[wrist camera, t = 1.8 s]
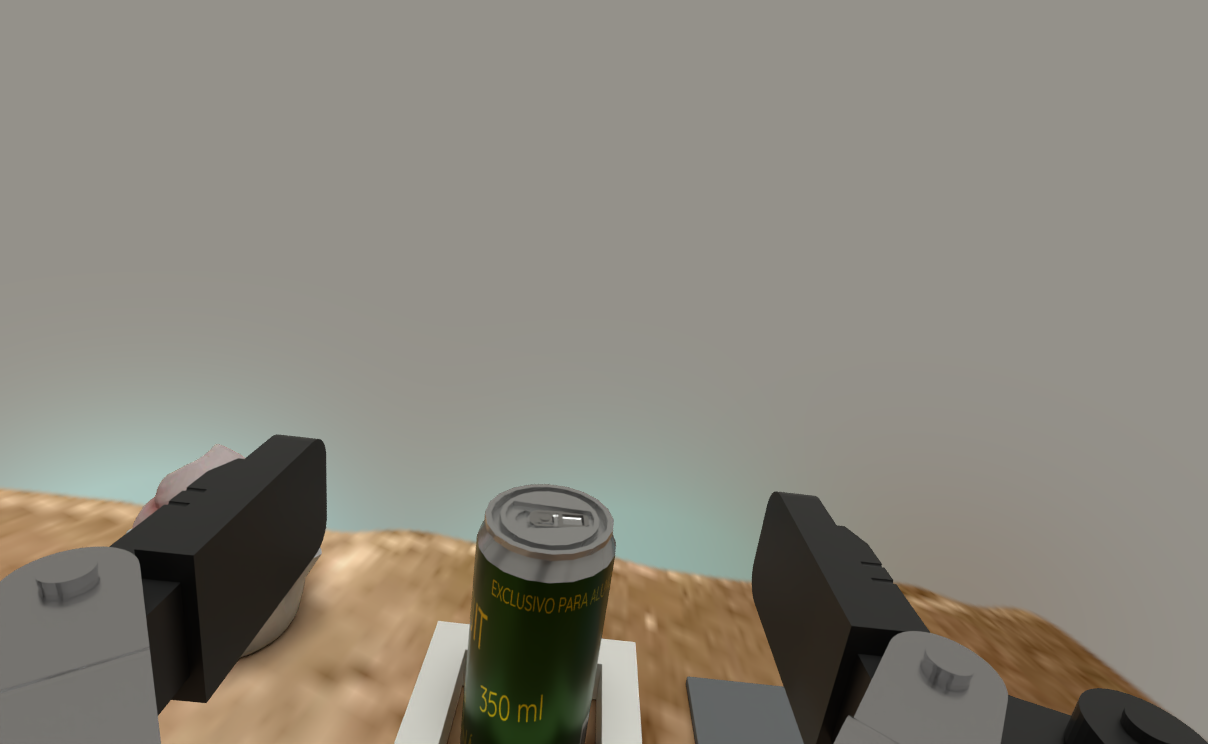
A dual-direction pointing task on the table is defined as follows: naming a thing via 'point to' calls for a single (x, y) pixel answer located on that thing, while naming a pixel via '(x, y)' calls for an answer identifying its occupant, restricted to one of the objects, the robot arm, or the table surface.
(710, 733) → the mat
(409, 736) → the collar
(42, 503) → the table surface
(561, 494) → the beer can
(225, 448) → the cupcake
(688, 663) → the table surface
